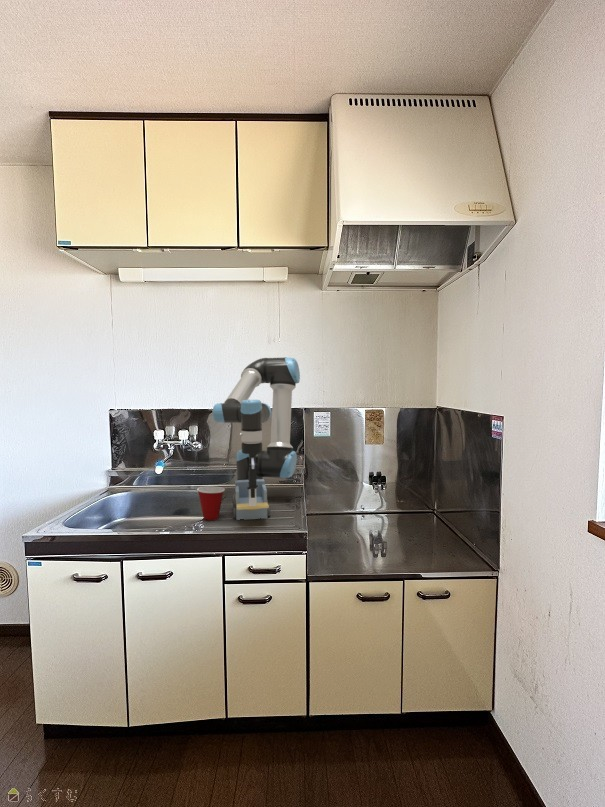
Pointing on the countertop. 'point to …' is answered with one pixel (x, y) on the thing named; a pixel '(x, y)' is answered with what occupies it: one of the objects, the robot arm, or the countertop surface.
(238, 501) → the box
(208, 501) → the plastic cup
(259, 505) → the panel
